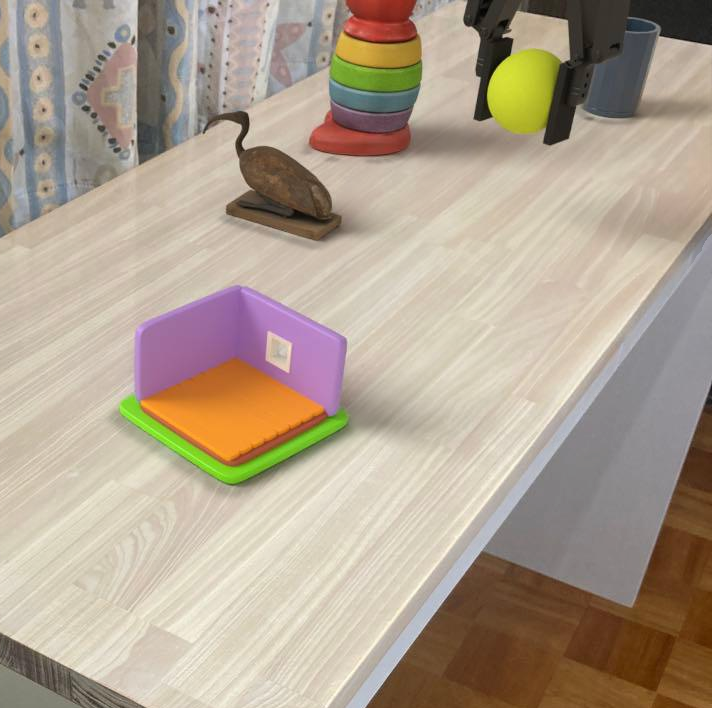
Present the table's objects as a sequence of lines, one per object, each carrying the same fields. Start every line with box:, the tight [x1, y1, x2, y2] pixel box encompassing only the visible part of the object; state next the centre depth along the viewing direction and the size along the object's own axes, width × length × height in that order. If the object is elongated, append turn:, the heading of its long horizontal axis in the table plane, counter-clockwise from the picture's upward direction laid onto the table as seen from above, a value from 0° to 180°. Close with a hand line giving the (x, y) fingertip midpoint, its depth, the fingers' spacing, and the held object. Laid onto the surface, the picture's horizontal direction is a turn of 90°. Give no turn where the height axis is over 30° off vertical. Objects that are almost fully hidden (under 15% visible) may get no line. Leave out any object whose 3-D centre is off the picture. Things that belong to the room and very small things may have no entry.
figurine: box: [202, 110, 343, 241], centre depth 103 cm, size 14×4×9 cm, turn 56°
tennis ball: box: [487, 48, 563, 135], centre depth 97 cm, size 7×7×7 cm
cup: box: [580, 16, 662, 119], centre depth 127 cm, size 6×6×9 cm
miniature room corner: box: [119, 284, 349, 485], centre depth 77 cm, size 12×12×7 cm
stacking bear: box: [308, 0, 423, 156], centre depth 115 cm, size 11×10×18 cm
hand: (520, 128), depth 99 cm, fingers closed on tennis ball, 7 cm apart
